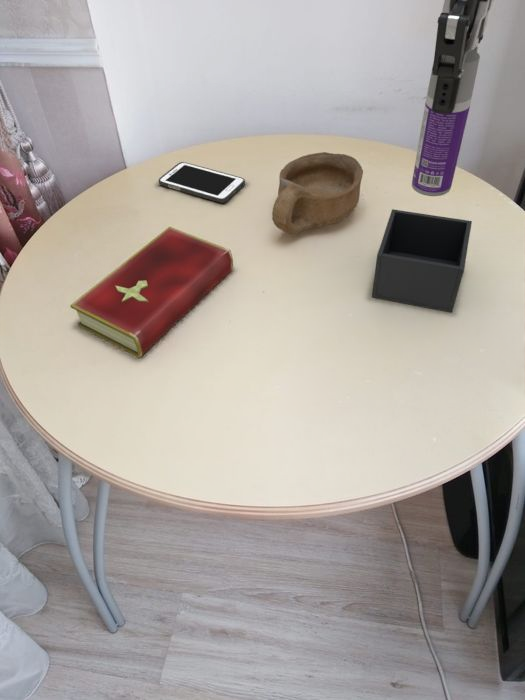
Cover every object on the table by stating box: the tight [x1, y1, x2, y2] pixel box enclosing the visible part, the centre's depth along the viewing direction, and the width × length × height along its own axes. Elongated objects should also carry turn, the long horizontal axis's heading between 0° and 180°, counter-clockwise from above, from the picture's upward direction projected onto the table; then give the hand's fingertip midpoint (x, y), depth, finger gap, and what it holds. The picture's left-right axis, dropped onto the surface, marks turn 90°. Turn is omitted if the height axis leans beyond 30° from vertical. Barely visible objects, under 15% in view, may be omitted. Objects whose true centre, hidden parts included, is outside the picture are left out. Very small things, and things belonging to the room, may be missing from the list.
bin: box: [371, 208, 473, 313], centre depth 80 cm, size 11×11×8 cm
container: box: [411, 50, 481, 197], centre depth 63 cm, size 5×5×15 cm
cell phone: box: [158, 161, 246, 204], centre depth 102 cm, size 8×15×1 cm, turn 60°
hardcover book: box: [69, 226, 234, 359], centre depth 81 cm, size 12×21×4 cm, turn 147°
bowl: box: [271, 151, 364, 234], centre depth 91 cm, size 18×14×10 cm
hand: (448, 100), depth 61 cm, fingers closed on container, 4 cm apart
